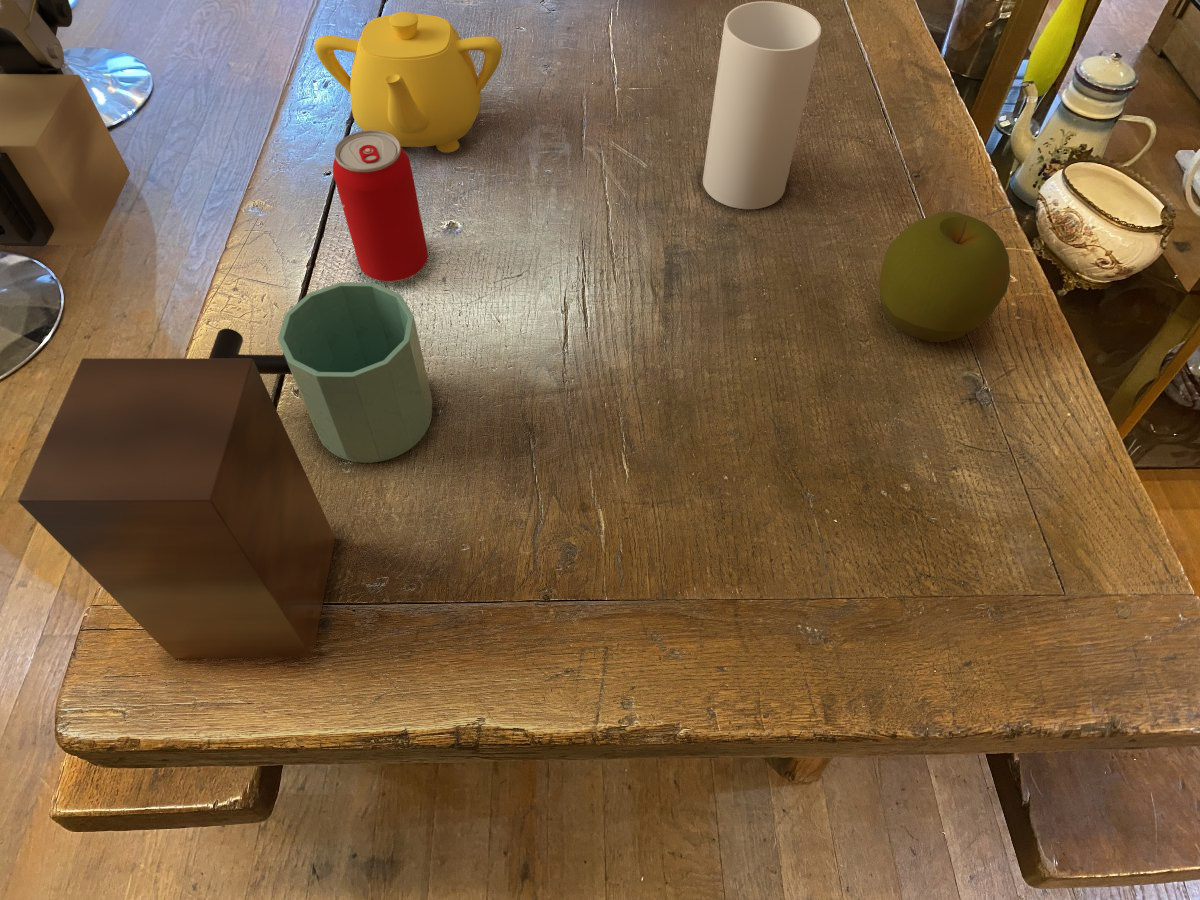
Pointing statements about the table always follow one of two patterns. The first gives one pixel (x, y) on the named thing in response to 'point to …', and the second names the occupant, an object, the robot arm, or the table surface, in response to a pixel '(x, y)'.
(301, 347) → the mug
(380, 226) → the beverage can
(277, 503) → the block
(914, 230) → the apple
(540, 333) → the table surface
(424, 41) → the teapot
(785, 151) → the cup
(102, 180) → the block
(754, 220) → the table surface
